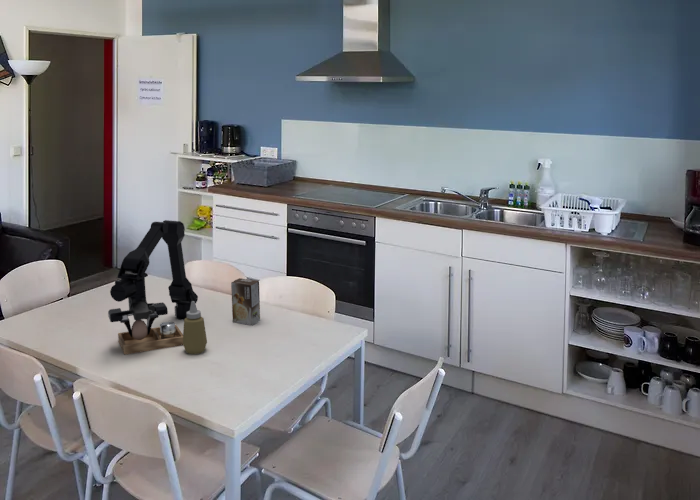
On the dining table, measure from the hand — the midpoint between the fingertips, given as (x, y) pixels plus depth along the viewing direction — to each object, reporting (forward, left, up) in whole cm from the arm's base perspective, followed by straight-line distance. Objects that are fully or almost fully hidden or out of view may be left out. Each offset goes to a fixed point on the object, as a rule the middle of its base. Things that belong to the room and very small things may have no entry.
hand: (139, 335), depth 224 cm
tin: (-9, 0, -3) cm, 10 cm away
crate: (-4, 0, -4) cm, 5 cm away
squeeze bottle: (-16, +13, -4) cm, 21 cm away
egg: (0, 0, -2) cm, 2 cm away
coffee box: (-41, -8, -4) cm, 42 cm away
